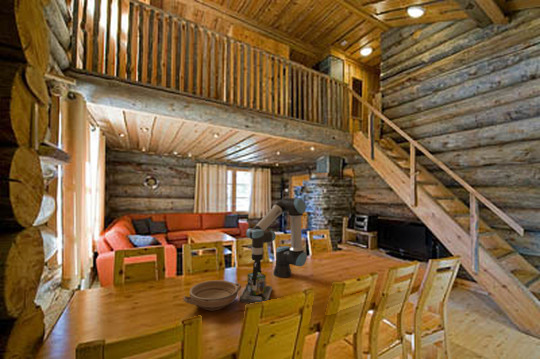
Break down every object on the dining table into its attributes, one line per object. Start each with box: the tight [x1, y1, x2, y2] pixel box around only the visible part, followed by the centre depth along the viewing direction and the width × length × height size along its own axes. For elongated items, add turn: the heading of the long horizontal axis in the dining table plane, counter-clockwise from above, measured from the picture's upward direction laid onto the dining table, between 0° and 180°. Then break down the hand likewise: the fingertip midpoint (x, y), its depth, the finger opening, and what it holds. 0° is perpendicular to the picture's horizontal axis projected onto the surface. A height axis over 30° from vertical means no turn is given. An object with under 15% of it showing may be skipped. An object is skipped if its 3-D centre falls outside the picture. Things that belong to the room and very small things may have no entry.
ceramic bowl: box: [182, 279, 242, 312], centre depth 148 cm, size 37×29×10 cm
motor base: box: [238, 281, 273, 304], centre depth 164 cm, size 23×18×8 cm
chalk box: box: [247, 272, 267, 296], centre depth 162 cm, size 9×9×15 cm
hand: (256, 286), depth 162 cm, fingers open, 12 cm apart
